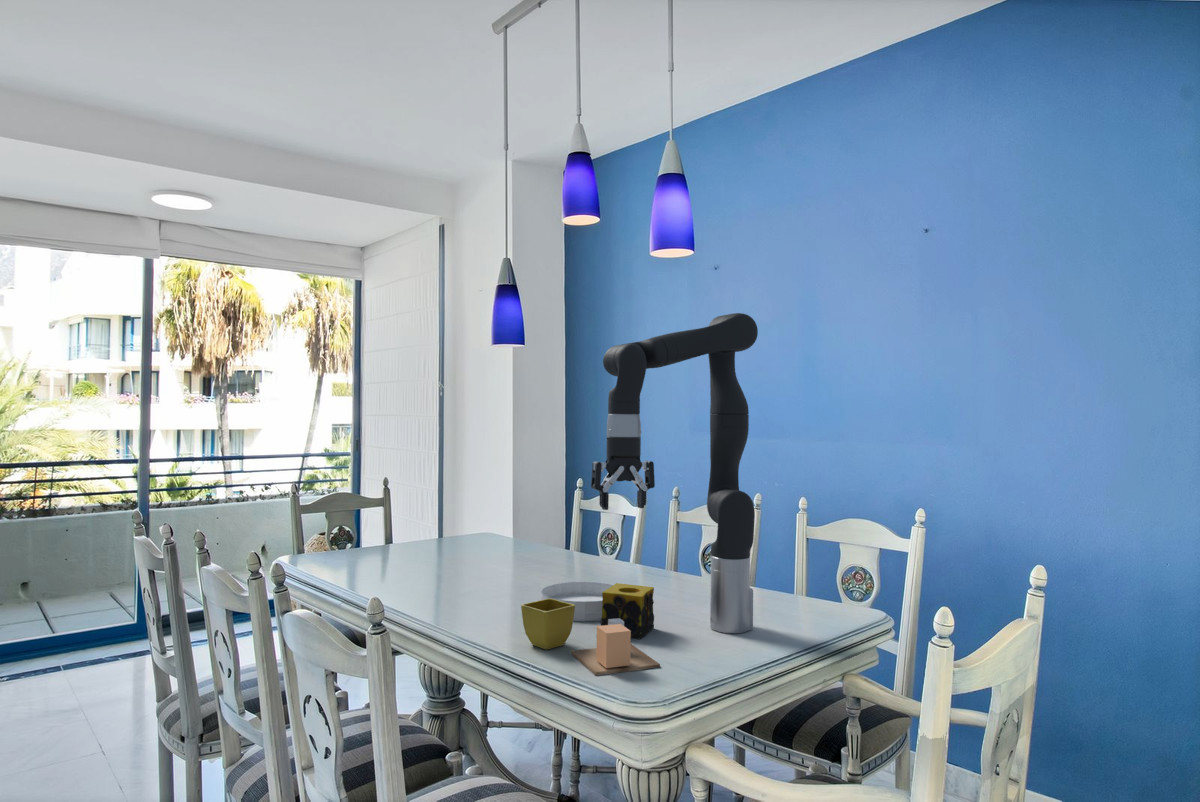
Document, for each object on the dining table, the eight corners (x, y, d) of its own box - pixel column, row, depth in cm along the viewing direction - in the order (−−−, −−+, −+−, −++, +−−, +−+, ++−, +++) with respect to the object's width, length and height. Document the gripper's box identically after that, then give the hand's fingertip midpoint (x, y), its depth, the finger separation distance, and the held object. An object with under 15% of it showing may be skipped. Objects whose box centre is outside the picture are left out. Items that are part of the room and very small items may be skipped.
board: (631, 646, 163) (631, 644, 163) (660, 667, 150) (660, 664, 150) (571, 653, 158) (571, 650, 158) (595, 675, 145) (595, 672, 145)
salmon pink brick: (620, 657, 153) (620, 623, 153) (630, 665, 148) (630, 630, 148) (596, 659, 151) (596, 626, 151) (606, 668, 146) (606, 633, 146)
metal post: (619, 648, 160) (619, 618, 160) (623, 651, 157) (624, 621, 158) (607, 649, 159) (608, 619, 159) (612, 653, 156) (612, 622, 157)
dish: (617, 624, 181) (617, 604, 181) (529, 619, 185) (530, 598, 185) (631, 602, 203) (631, 584, 203) (552, 597, 207) (553, 579, 207)
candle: (615, 623, 181) (615, 582, 181) (654, 628, 177) (655, 586, 178) (599, 635, 172) (600, 591, 172) (641, 640, 168) (641, 595, 168)
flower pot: (519, 645, 163) (519, 604, 163) (549, 637, 169) (550, 597, 169) (545, 654, 157) (545, 611, 157) (575, 646, 163) (576, 604, 163)
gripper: (645, 434, 170) (644, 505, 170) (587, 434, 165) (586, 507, 164) (660, 435, 163) (659, 509, 163) (600, 435, 158) (599, 512, 157)
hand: (622, 508), depth 164 cm, fingers open, 8 cm apart
